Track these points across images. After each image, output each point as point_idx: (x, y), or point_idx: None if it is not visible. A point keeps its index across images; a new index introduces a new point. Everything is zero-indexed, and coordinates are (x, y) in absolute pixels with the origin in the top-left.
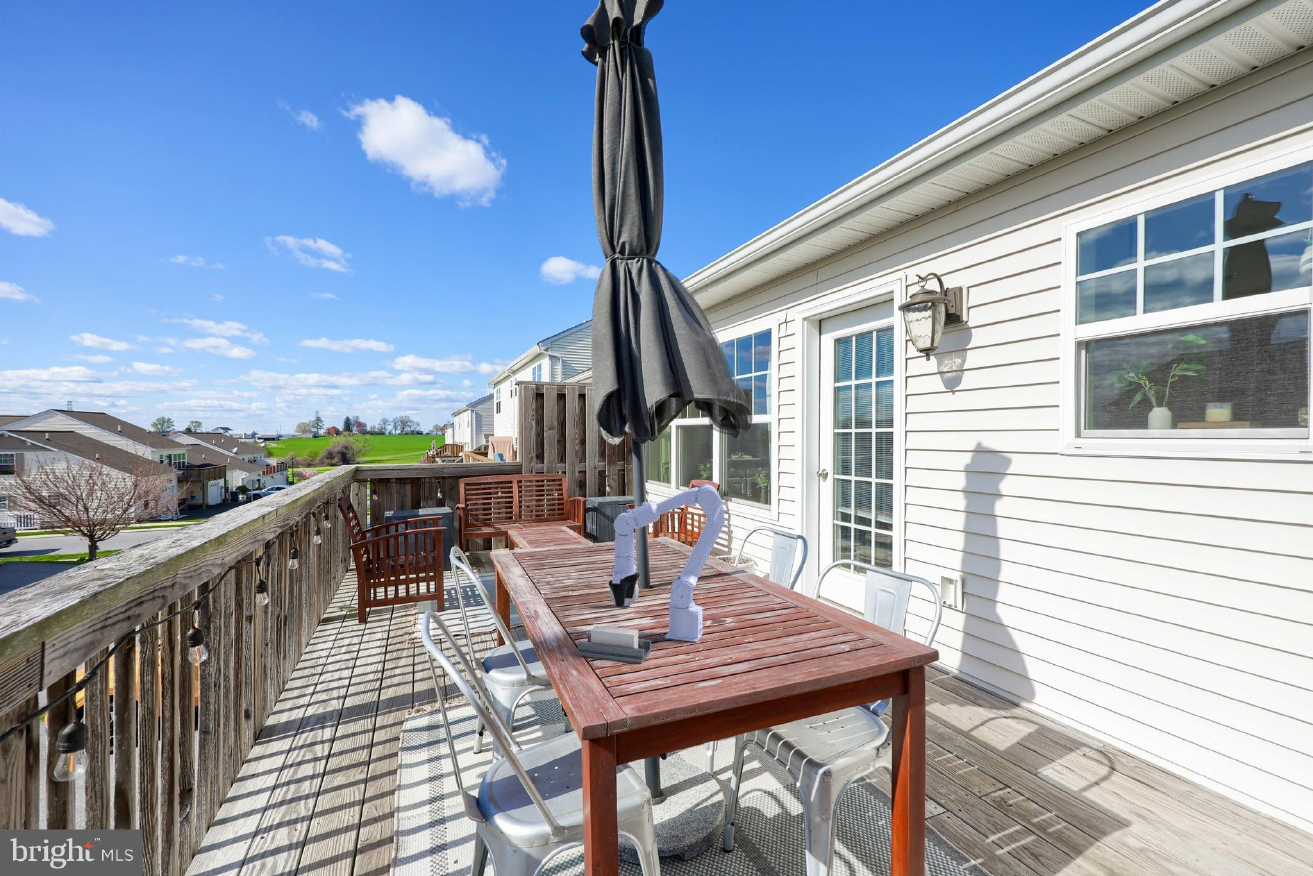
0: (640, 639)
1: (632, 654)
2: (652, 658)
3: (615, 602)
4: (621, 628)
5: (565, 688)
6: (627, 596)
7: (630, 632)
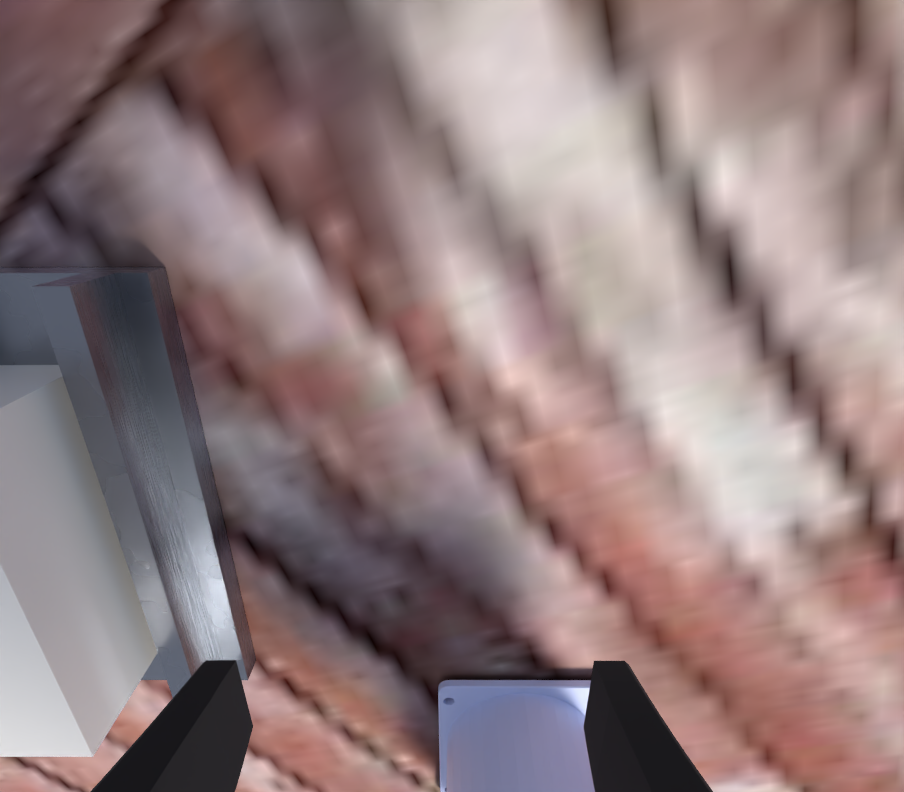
0: (182, 677)
1: None
2: (157, 682)
3: (166, 706)
4: (42, 657)
5: None
6: (596, 711)
7: (13, 728)
